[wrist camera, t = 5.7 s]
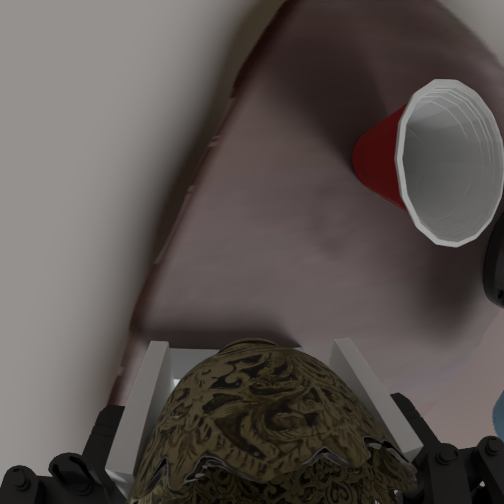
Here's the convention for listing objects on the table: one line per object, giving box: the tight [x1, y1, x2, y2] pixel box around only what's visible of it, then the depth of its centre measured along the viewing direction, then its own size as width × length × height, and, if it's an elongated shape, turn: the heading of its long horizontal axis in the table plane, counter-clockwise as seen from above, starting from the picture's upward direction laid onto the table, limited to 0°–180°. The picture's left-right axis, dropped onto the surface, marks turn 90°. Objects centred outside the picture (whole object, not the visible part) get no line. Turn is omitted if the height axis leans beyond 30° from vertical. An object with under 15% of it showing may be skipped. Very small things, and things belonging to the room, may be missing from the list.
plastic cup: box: [352, 79, 504, 247], centre depth 19 cm, size 11×11×12 cm
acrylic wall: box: [169, 347, 305, 387], centre depth 26 cm, size 14×2×5 cm, turn 88°
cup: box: [126, 338, 418, 504], centre depth 8 cm, size 8×7×8 cm
